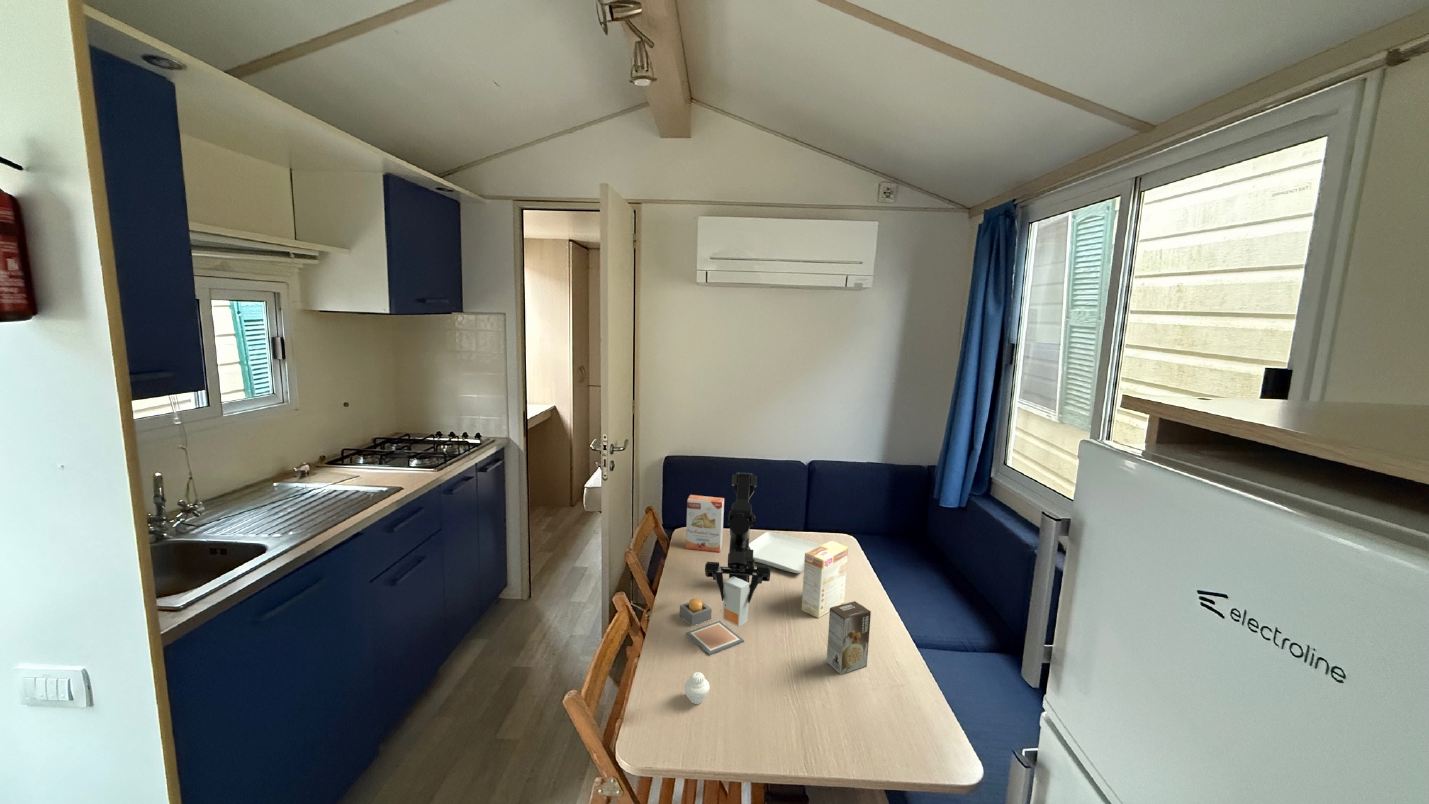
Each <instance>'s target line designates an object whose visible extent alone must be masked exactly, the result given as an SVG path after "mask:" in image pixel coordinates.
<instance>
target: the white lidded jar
mask: <svg viewBox="0 0 1429 804" xmlns="http://www.w3.org/2000/svg"><path fill="white" fill-rule="evenodd" d="M683 687H684V691H685V694H686V696H687V698H688V700H689V702H690V703H692V704H694V705H699V704H702V703H703V702H704V700H705V699H706V697H707V696H708V694H709V692H710V682H709V681H708V680H707V679H706V677H705V675H704V674H703V673H702V672H699V671H697V672H693V673H691V675H690V676H689V678H688V679H687V680H686V681H685V683H684V685H683Z"/></svg>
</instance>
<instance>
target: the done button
mask: <svg viewBox="0 0 1429 804" xmlns="http://www.w3.org/2000/svg"><path fill="white" fill-rule="evenodd" d="M688 602H689V610H690V611H692V612H693V613H695V612H698V611H701V610H702V602H703V600H702V599H700V598H692V599H689V601H688Z"/></svg>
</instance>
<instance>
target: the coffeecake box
mask: <svg viewBox="0 0 1429 804" xmlns="http://www.w3.org/2000/svg"><path fill="white" fill-rule="evenodd" d="M848 552H849V547H848V546H846V545H844V544H841V543H838V542H836V541H834V540H829V541H828V542H825V543H823V544H821V546H819V547H817V548H815V549H812V550H810V551H808V552H806V553H805V560H804V570H803V578H802V579H803V580H802V582H803V583H802V593H801V594H802V595H801V611H802V612H805V613H806V614H809V615H811V616H812V617H815V618H817V619H820V618H821V617H823V616H825V615H826V614H827V613H830V608H831V607H835V606H839V605H842V604H845V598H846V597H845V595H846V594H845V593H846V583H847V582H846V581H847V569H848V556H849V555H848Z"/></svg>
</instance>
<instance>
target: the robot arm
mask: <svg viewBox="0 0 1429 804" xmlns="http://www.w3.org/2000/svg"><path fill="white" fill-rule="evenodd" d="M757 478H758V477H757V475H755V474H754V473H749V472H736V473H735V474H732V481H731V482H732V483H731V486H733V491H734V493H735V495H736V499H735V502H733V503H732V504H731V510H729V512H728V517H727V526H729V534H730V535H729V536H730V537H729V551H728V554H727V566H720V562H719V561H707V562H705V565H704V575H705V577H707V578H712V580H713V581H716V583H717V586H718V589H719V594H720V597H721V602H724V577H723V576H724V575H728V579H729V578H731V577H732V576H734V577H736V578H739V579H742V580H744V581H746V582H748V583H749V597H748V604H750V603H751V600H752V598H753V595H754V593H755V590H756V588H757V587H758V585H760V584H762V583H763V582H770V580H771V566H769V565H761V564H760V565H756V568H755V563H756V562H755V559H754V558H753V550H751V549H750V547H749V543H750V530H751V528H753V527H754V526H755V525H756V516H755V513H754V512H752V509H753V505H752V504H751V503H750V499H751V497H752V496H753V494H754V493H755V488H757ZM750 576H751V580H750Z"/></svg>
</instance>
